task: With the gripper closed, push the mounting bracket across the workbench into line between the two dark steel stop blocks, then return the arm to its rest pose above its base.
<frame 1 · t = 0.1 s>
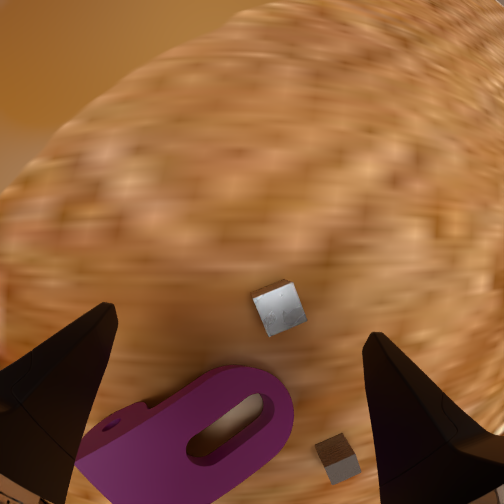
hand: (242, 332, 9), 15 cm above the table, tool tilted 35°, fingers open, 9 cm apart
stop blocks: (307, 386, 24), on the table
mounting bracket: (196, 422, 24), on the table
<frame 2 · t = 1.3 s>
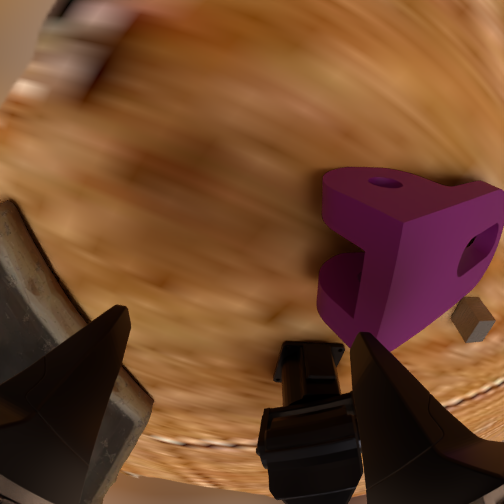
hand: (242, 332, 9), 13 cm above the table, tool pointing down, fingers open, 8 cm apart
stop blocks: (497, 241, 22), on the table
mounting bracket: (417, 222, 22), on the table
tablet: (62, 326, 29), on the table
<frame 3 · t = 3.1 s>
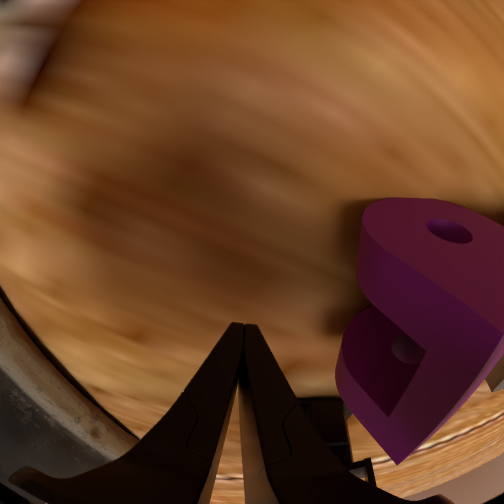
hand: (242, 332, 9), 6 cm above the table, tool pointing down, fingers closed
mounting bracket: (462, 265, 16), on the table
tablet: (34, 364, 23), on the table
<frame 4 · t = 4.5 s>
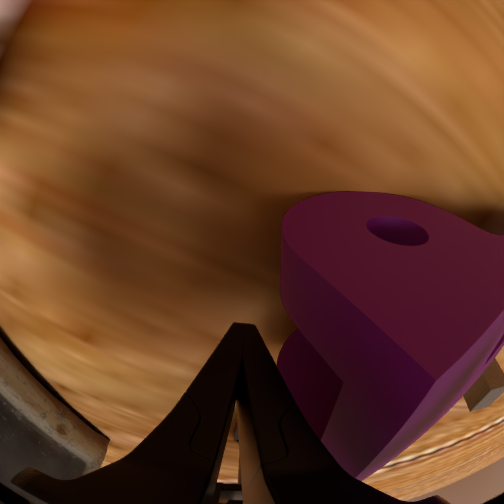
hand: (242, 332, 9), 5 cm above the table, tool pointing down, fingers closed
mounting bracket: (433, 273, 15), on the table, touching gripper
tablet: (7, 360, 22), on the table
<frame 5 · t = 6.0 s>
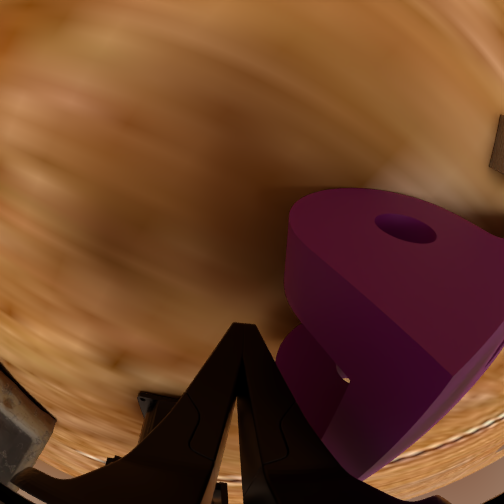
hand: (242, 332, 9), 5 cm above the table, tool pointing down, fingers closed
stop blocks: (462, 281, 14), on the table
mounting bracket: (434, 275, 14), on the table, touching gripper
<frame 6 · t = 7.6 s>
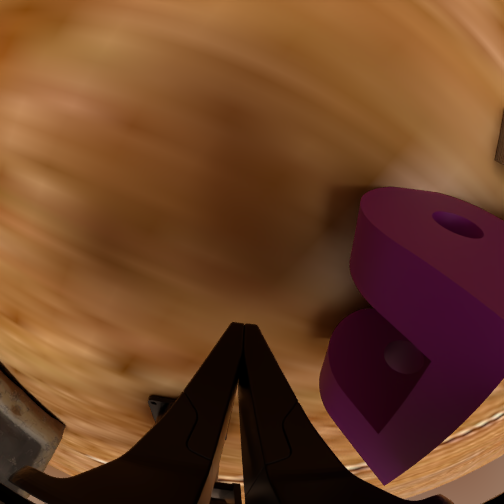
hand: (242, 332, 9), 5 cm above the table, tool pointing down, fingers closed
mounting bracket: (462, 269, 14), on the table
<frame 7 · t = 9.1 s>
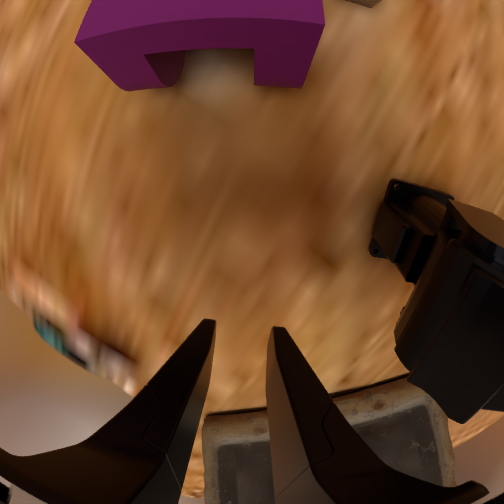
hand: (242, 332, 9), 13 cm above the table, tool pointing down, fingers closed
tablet: (321, 413, 36), on the table
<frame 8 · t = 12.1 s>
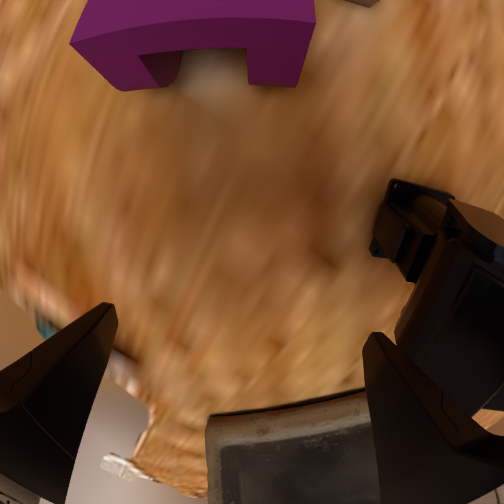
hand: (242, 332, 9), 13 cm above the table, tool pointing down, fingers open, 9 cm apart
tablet: (324, 413, 36), on the table
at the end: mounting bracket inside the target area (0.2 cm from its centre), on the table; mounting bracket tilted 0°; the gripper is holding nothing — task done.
